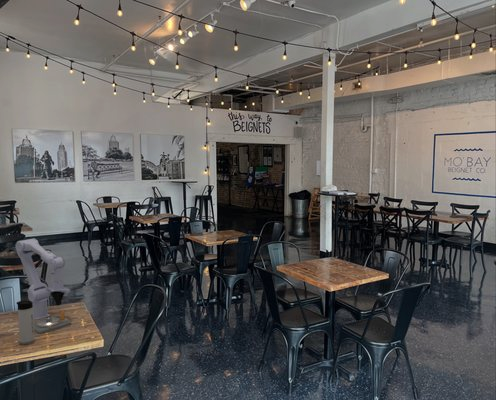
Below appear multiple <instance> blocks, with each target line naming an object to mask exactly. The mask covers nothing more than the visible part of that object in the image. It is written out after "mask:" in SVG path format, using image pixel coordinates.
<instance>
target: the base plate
mask: <svg viewBox="0 0 496 400" xmlns="http://www.w3.org/2000/svg"><path fill="white" fill-rule="evenodd" d="M51 317H52V318H53V317H56V318H60V315H55V316H51ZM39 321H40V320H38V321H37V320H36V321H34V333H36V334H38V335H42V334H45V333H49V332H53V331H56V330H59V329H62V328H65V327H68V326H69V327H70V326H72V322H71V321H69V320H67V322H63V323H59V324H57V325H55V326H51V324H49V327H38V326H37V323H38V322H39Z"/></svg>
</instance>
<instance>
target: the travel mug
mask: <svg viewBox="0 0 496 400" xmlns="http://www.w3.org/2000/svg"><path fill="white" fill-rule="evenodd" d="M16 305H17V321H18V337H19V338H18V340H19V344H20V345H22V346H23V345H25V346H26V345H30V344H33V343H34V342H35V341H36V338H35V331H34V322H35V321H34V320H35V319H33V303H32V301H30V300H19V301H17V302H16Z"/></svg>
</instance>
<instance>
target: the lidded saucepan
mask: <svg viewBox="0 0 496 400" xmlns="http://www.w3.org/2000/svg"><path fill="white" fill-rule="evenodd" d="M59 316H60V318H56V317H55V316H48V317H45V318H42V319H39V320H38V321H39V322H38V323H37V326H38V327H49V324H51V326H55V325H57V324H59V323H63V322H67V321H68V318H67V317H66V313H65V310H60V312H59ZM52 317H53V318H52Z"/></svg>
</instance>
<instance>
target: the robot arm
mask: <svg viewBox="0 0 496 400" xmlns="http://www.w3.org/2000/svg"><path fill="white" fill-rule="evenodd" d="M15 251H16V254H17V256H18V257H19V258H20V261H21V264H22V266H23V270H24V271H25V276H26V277H27V280H28V283H29V284H30V286H29V288H28V289H27V291H26V292H27V296H28V301H32V303H33V319H34V320H36V321H37V320H42V319H46V318H47V317H52V316H51V314H49V313H48V300H49V298H50V296H51V297H52V299H53V300H54V303H55V306H57V307H58V306H61V305H62V301H63V298H64V295H65V294H69V293H71V289H70V288H67V287H64V271H63V270H64V267H65V265H66V262H65V261H66V260H65V259H64V258H63V257H62V256H57V255H56V254H54V253H53V252H51V250H45V248H43V247H42V246H41V245H40V244H39V240H37V239H36V238H34V237H33V238H29V239H23V240H18V241H17V242H16V243H15ZM35 253H36V254H37V255H39V256H40V259H41V260H42V261H43V262H44V263H45V264H47V266H48V269H49V273H50V278H51V279H50V280H51V286H48V285H47V283H44V282H42V281H41V279H40V276H39V273H38V271H37V268H36V266H35V263H34V261H33V258H32V255H34V254H35Z"/></svg>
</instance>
